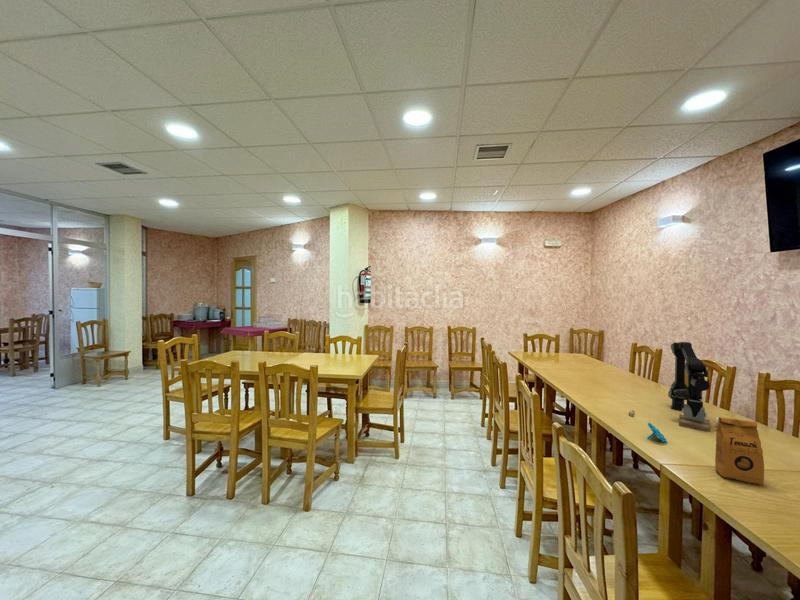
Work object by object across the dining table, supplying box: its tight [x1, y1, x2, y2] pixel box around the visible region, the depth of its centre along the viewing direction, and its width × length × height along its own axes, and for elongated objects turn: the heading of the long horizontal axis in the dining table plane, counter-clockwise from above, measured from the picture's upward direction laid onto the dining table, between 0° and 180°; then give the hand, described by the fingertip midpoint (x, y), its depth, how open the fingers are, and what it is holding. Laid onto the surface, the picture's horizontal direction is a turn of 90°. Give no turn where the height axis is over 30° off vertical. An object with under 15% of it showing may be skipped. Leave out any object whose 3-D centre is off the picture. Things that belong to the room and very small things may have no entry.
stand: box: [678, 414, 711, 433], centre depth 177 cm, size 14×12×2 cm
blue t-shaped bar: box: [646, 422, 668, 444], centre depth 159 cm, size 11×6×10 cm
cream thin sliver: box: [715, 416, 725, 429], centre depth 172 cm, size 5×5×5 cm
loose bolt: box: [628, 409, 635, 417], centre depth 191 cm, size 7×3×3 cm, turn 139°
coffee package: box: [714, 416, 765, 486], centre depth 126 cm, size 10×12×22 cm
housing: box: [681, 403, 708, 422], centre depth 177 cm, size 5×10×6 cm, turn 49°
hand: (694, 415), depth 177 cm, fingers closed on housing, 5 cm apart
